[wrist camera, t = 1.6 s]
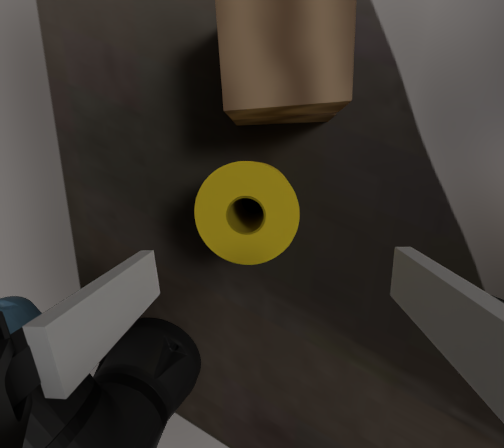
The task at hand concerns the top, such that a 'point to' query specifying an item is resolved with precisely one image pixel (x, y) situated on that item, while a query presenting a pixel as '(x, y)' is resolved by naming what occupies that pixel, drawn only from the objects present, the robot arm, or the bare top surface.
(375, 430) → the top surface
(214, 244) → the yellow toilet paper roll
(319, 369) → the top surface
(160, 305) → the top surface
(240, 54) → the tower block top
